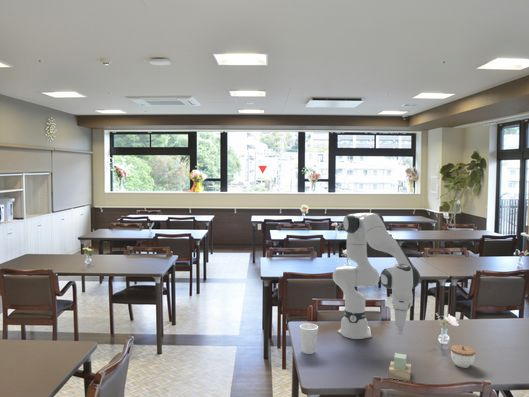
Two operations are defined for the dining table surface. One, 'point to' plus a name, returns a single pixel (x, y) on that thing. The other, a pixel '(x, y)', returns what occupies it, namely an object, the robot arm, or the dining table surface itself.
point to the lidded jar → (462, 355)
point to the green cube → (400, 361)
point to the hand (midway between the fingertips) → (401, 330)
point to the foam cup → (308, 337)
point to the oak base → (400, 372)
